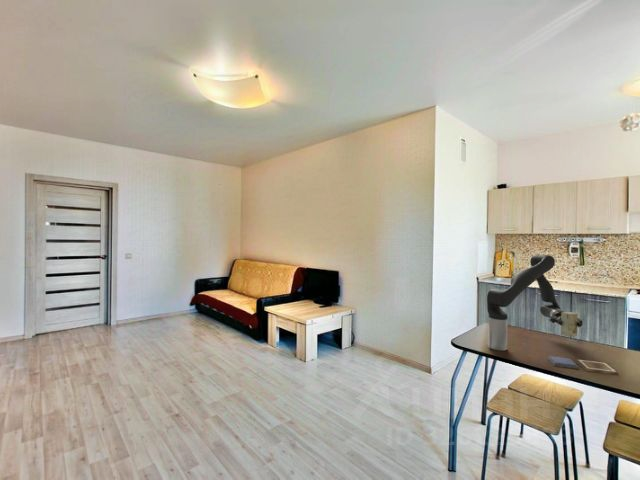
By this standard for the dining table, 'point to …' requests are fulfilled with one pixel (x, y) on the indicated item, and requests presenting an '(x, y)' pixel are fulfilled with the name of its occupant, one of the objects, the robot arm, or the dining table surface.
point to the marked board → (597, 367)
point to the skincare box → (569, 324)
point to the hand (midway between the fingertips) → (570, 324)
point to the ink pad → (562, 362)
